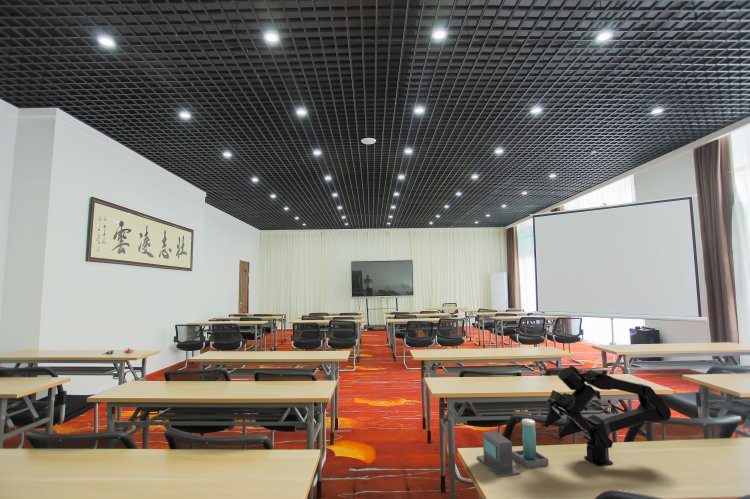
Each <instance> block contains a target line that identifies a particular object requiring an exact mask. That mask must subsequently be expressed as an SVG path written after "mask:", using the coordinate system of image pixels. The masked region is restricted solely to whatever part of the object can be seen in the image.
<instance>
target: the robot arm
mask: <svg viewBox="0 0 750 499" xmlns="http://www.w3.org/2000/svg"><path fill="white" fill-rule="evenodd" d="M557 378H558V379H559V380H560V381H561V382H562V383H564V385H565V386H566V387H567V388H568V389H569V390H570V391H573V392H571V394H570V392H569V393H566V392H563V393H560V392H559V391H556V390H555V389H552V391H551V393H550V395H549V398H548V399H547V400H546V402H545V403H546V406H547V410H548V412H547V416H546V419H545V421H544V424H543V426H544V428H548V427H550V426H551V425H553V424H554V423H557V421H559V420H561V419H562V418H563V416H566V423H565V424H564V425H563V427H562V428H561V430H560V431H559V433H558V435H557V436H558V437H559V438H561V439H562V438H564V437H567V436H569V435H573V434H576V433H580V434H582V436H583V439H585V440H586V455H584V457H583V458H584V459H586V460H587V461H590V462H591V463H592V464H594V465H596V466H607V465H613V463H614V462H613V461H612V460H610V456H609V454H610V452H609V449H610V448H613V444H614V441H613V440H612V439H611V438H610V435H611V434H612V433H614V432H618V431H621V430H624V429H627V428H630V427H634V426H637V425H640V424H643V423H649V422H650V423H664V422H668V421H670V420H671V417H672V411H671V408H670V407H669V406H667V404H666V403H665V401H664V400H663V399H662V398H661V397H660V396H659V395H658V394H657V393H656V392H655V390H654V389H653V388H652V387H651V386H649V385H646V384H643V383H639V382H633V381H628V380H625V379H620V378H616V377H613V376H610V375H608V374H606V373H603V372H601V371H597V370H594V369H588V370H587V371H586V372H580V371H579V370H578V369H577V368H576V366H574V365H569V367H565V368H563V369H561V370H560V371H559V373H558V377H557ZM594 388H596V389H599V390H603V391H606V390H607V391H611V390H618V391H621V392H626V393H629V394H633V395H637V399H638V403H639V404H638V406H637V408H634V409H631V410H628V411H624V412H621V413H618V414H615V415H611V416H608V417H606V418H605V417H604V418H601V417H599V416H597V415H595V414H593V415H590V416H587V417H585V416H583V415H582V414H581V413H582V412H583V411H588V407H587V406H588V405H589V404H590V402H592V401H593V399H594V398H595V399H598V400H602V397H601V391H599V390H596V389H594Z"/></svg>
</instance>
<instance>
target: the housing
mask: <svg viewBox="0 0 750 499" xmlns="http://www.w3.org/2000/svg"><path fill="white" fill-rule="evenodd" d="M482 443H483V444H482V446H483V448H482V450H483V454H482V455H477V456H476V459H478V460H479V461H480V462H481V463H482V464H484V466H486V467H487V468H488V469H490V470H491V471H492V472H493V473H494V474H495V475H496V476H497V477H498V478H503V477H504V478H505V477H509V476H510V477H511V476H516V475H521V471H520V470H519V469H517V468H516V467H515V466H513V465H514V464H513V463H514V462H513V457H512V451H513V442H512V441H511V440H509V438H507V437H505V436H504V435H502V434H501V433H499V432H497V430H491V431H490V430H489V431H482Z"/></svg>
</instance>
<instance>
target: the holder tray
mask: <svg viewBox="0 0 750 499" xmlns="http://www.w3.org/2000/svg"><path fill="white" fill-rule="evenodd" d="M536 457H537V460H532V461H527V460H525V459H524V458H523V449H519V450H512V459H514V460H516V461H517V462H518V463H520V465H523V466H524V467H525V468H527V469H532V468H538V467H545V466H549V465H550V464H549V458H548V457H546V456H545V455H542V454H541V453H540V452H538V451H536Z"/></svg>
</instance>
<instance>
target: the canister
mask: <svg viewBox="0 0 750 499" xmlns="http://www.w3.org/2000/svg"><path fill="white" fill-rule="evenodd" d="M521 429H522V430H521V432H522V434H521V435H522V436H521V437H522V450H523V458H524V459H525V460H527V461H532V460H537V457H536V452H537V438H536V435H537V434H536V421H535V420H534V419H530V418H522V419H521Z"/></svg>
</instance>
